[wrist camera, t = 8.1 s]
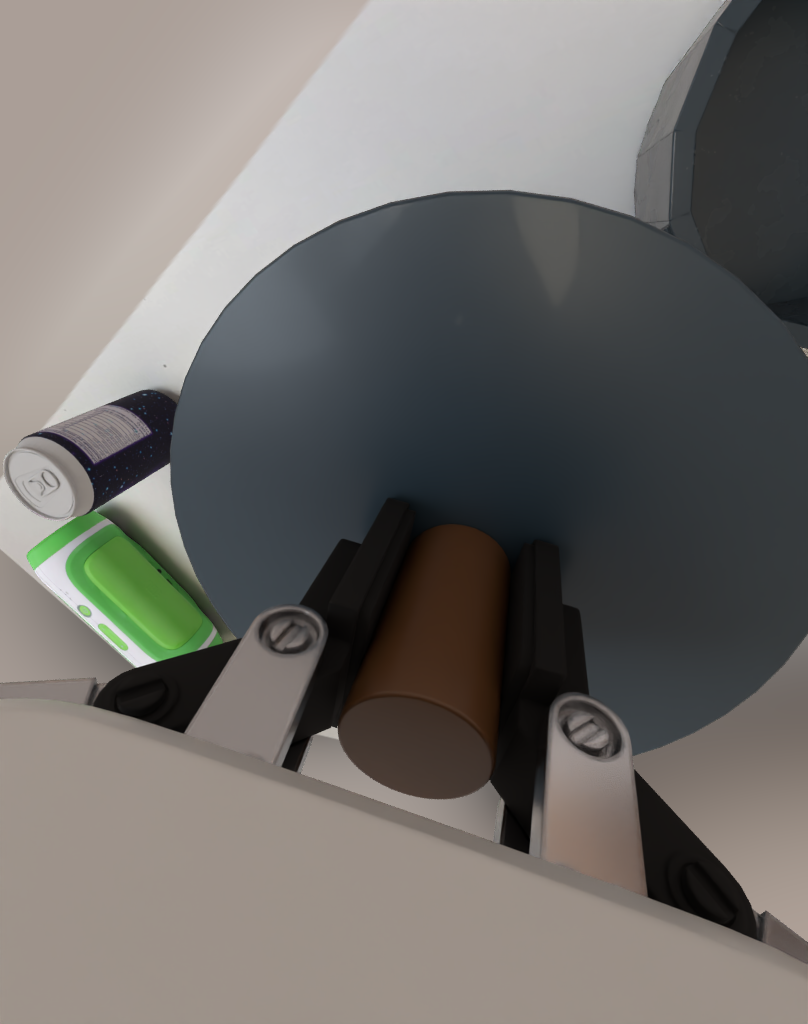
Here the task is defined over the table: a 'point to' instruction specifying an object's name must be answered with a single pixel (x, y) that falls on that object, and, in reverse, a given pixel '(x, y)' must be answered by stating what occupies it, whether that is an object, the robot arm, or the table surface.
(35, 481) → the beverage can
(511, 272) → the pot lid
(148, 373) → the table surface
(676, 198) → the pot
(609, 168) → the table surface
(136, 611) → the speaker
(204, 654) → the robot arm
